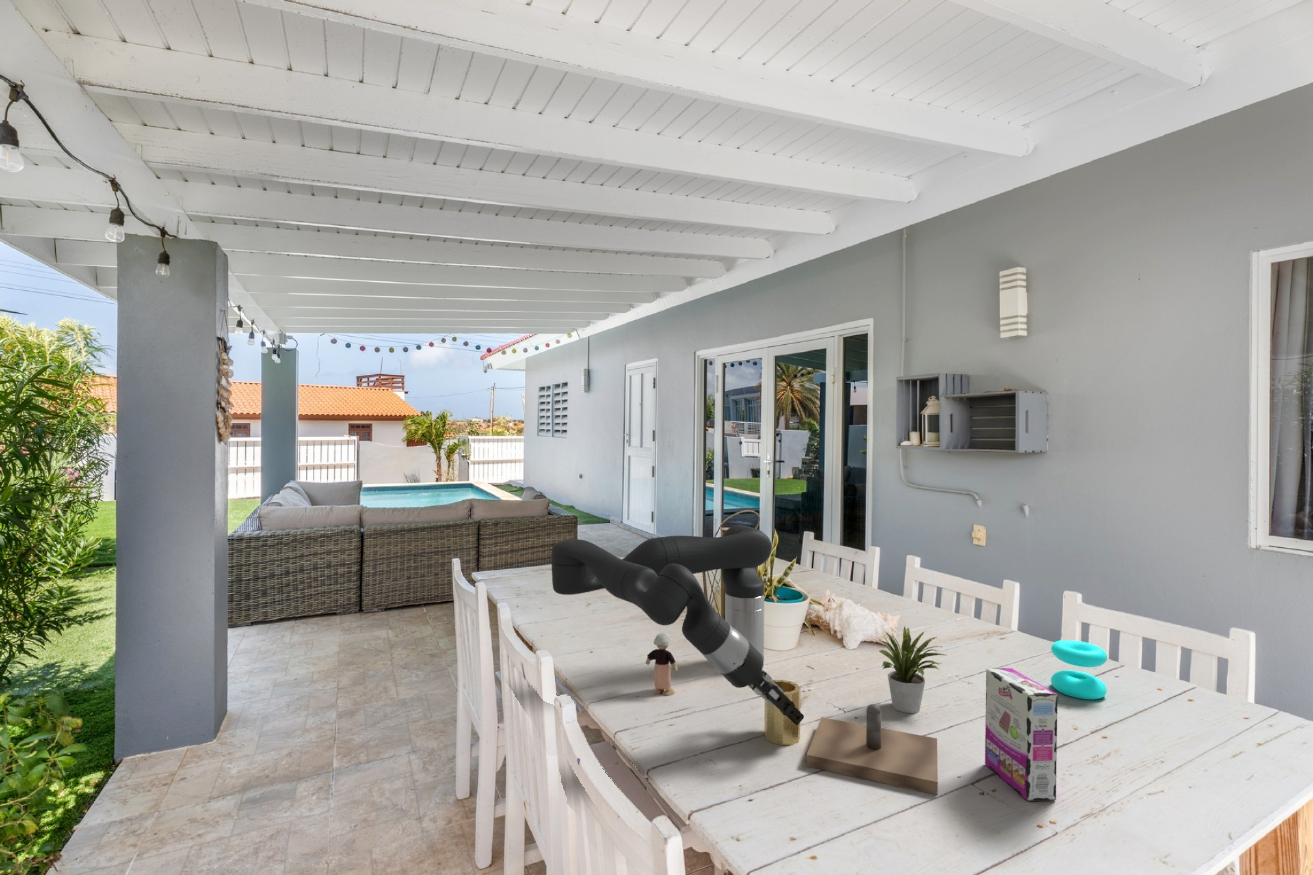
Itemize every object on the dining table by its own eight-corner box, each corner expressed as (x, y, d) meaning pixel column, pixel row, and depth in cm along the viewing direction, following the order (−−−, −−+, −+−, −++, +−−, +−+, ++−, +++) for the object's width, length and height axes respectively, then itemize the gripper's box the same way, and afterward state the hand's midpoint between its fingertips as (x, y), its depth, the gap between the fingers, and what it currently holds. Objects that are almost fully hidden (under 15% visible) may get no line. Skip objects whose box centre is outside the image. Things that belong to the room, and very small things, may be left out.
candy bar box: (1058, 801, 95) (1060, 694, 95) (1027, 802, 95) (1028, 695, 95) (1011, 762, 107) (1012, 666, 106) (983, 763, 106) (984, 667, 106)
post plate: (806, 766, 105) (807, 711, 105) (821, 727, 119) (821, 679, 119) (937, 794, 97) (938, 735, 97) (937, 749, 111) (937, 697, 110)
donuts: (1110, 645, 136) (1103, 657, 128) (1109, 691, 136) (1102, 706, 128) (1056, 634, 142) (1046, 645, 135) (1056, 678, 142) (1046, 692, 135)
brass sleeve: (761, 740, 114) (761, 690, 113) (769, 725, 119) (769, 677, 119) (795, 747, 111) (796, 696, 111) (802, 732, 117) (802, 683, 117)
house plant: (907, 732, 117) (907, 645, 117) (852, 703, 129) (852, 624, 129) (958, 716, 123) (958, 633, 123) (901, 690, 136) (901, 615, 136)
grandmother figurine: (681, 690, 135) (681, 632, 135) (676, 697, 132) (676, 637, 131) (647, 685, 138) (648, 628, 138) (641, 692, 134) (642, 633, 134)
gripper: (703, 656, 118) (760, 711, 122) (733, 686, 105) (796, 747, 108) (729, 626, 120) (785, 680, 123) (762, 651, 106) (824, 712, 109)
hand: (790, 711), depth 116 cm, fingers closed on brass sleeve, 6 cm apart
